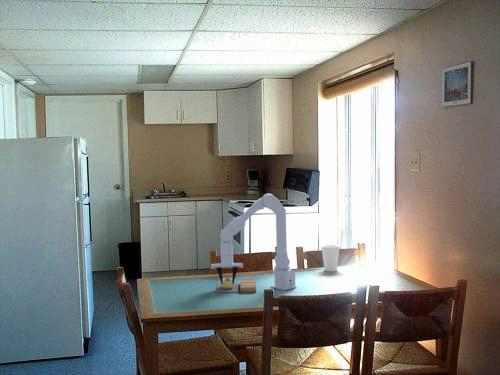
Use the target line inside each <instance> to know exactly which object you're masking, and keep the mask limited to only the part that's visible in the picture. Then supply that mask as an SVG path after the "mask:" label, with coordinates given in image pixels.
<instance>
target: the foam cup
mask: <svg viewBox="0 0 500 375" xmlns="http://www.w3.org/2000/svg"><path fill="white" fill-rule="evenodd" d="M340 247H341V246H340V245H339V244H333V243H332V244H331V243H329V244H322V245H321V253H322V261H323V268H324V272H325V271H326V272H336V271H338V265H339V264H338V263H339V257H340V250H341V248H340Z"/></svg>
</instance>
